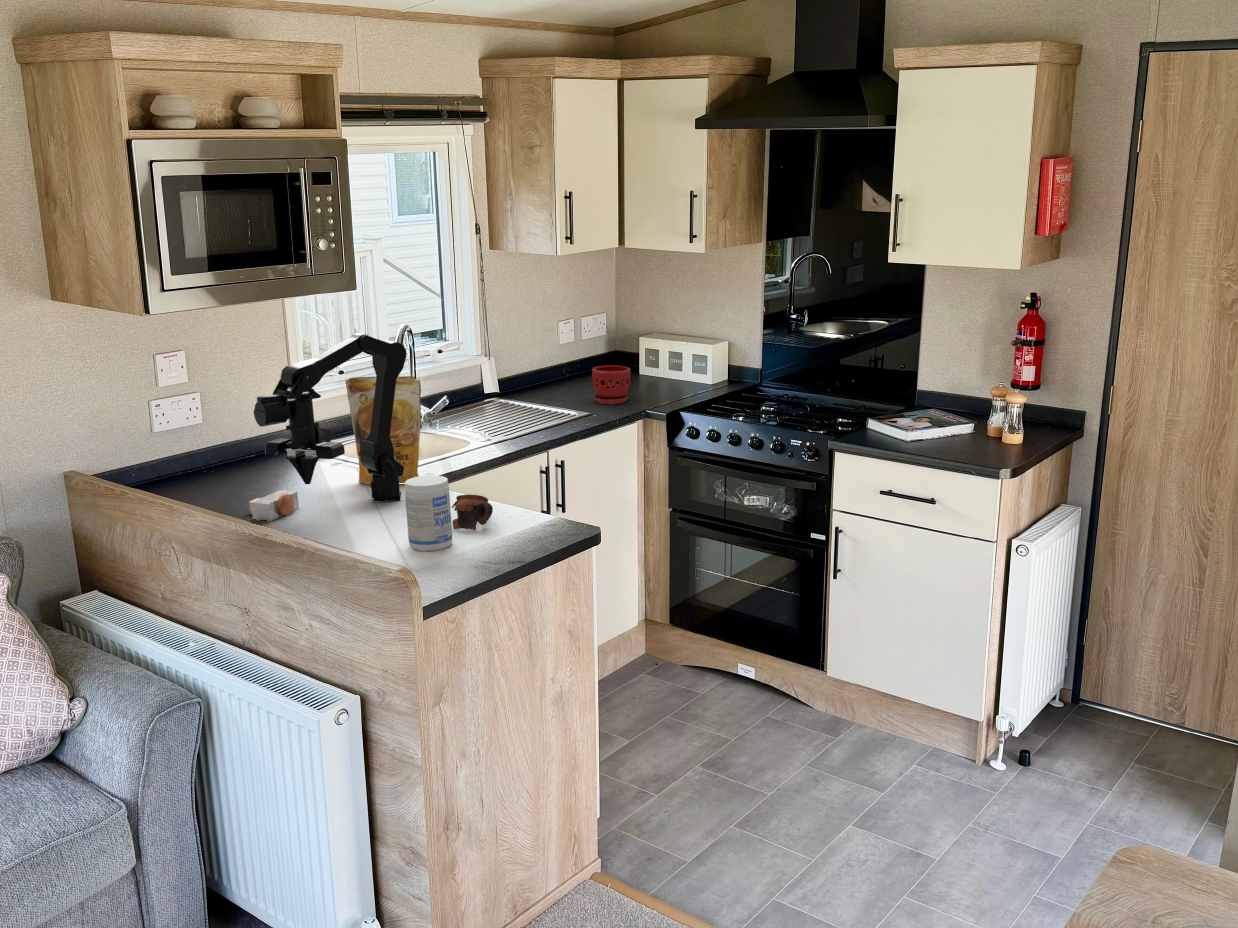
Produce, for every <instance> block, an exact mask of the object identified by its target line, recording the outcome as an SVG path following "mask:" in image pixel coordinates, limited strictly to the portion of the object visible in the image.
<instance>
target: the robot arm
mask: <svg viewBox="0 0 1238 928" xmlns="http://www.w3.org/2000/svg"><path fill="white" fill-rule="evenodd" d="M362 353H364V354H367V355H369V356H372V361H371V362H372V366H373V368H374V369H373V370H374V373H375V377H376V386H375V395H374V403H373V412H372V421H371V430H370V434H369V436H368V438H367V439H366V441H365V440H361V441H360V452H359V454H358V455H357V457H358V456H360V461H361V463H362V464H363V466H364V467H366V469H367V471H368V473H369V474H373V480H371V485H370V490H371V491H370V492H371V498H372V499H373V503H380V502H395V501H401V497H402V492H401V487H400V486H401V485H400V484H399V476H402V475H403V471H404V467H403V466H402V465H401V464H400V463H398V462H397V461H396V460H395V459H394V447H393V444H392V441H391V438H390V431H391V422H392V414H393V405H394V396H395V388H396V380H397V377H400V374H401V373H402V371H403V370H404V367H405V363H406V359H407V354H408V353H407V348H406V347H405V345H403V343H401V342H398V341H392V340H386V339H383V340H381V339H378V338H375V337H373V336H370V335H369V334H367V333H365V334H364V333H359V332H358V333H357V332H354V333H353V334H351V336H349V337H348V338H346V339H344V340H343V341H341V342H338V343H337V344H335V345H333V347H331V348H328V349H327V350H325V351H324V352H322V353H320V354H318V355H316V356H315V357H312V358H310V359H305V360H301V361H300V360H299V361H297V362H295V363H292V364H288V365H286V366H285V367H284V368H283V369H282V370H281V374H280V379H279V380H278V382H277V384H276V387H275V388H274V390H273V391H272V395H260V396H257V397H256V401H257V402H256V403H255V404H254V409H253V415H254V419H255V421H256V424H257V425H258V426H259V427H262V428H263V427H268V426H273V425H279V424H284V423H286V422H287V421H288V424H287V425H285V430H286V431H289V435H290V438H281V437H279V438H275V439H273V440H270V441H267V442H266V443H265V445H264V453H265V455H267V456H277V454H278V453H279V451H280V452H281V451H282V452H286V453H287V456H285V460H288V461H289V462H290V464H291V466H292V467H294V469H295V471H296V472H297V473H298V475H299V476H300V479H301V480H302V481H303V482H304V484H305V485H310V484H312V479H313V475H314V474H315V473H314V471H315V468H316V465H317V463H318V461H319V460H332V459H335V458H338V457H340V456H343V455H345V454H346V452H345V451H346V450H345V445H344V444H343V443H342V442H338V441H331V439H332V433H333V432H332V429H328V428H324V427H320V423H319V421H315V413H314V405H313V400H314V399H315V400H316V399H320V398H321V397H322V395H321V394H320V393H318V392H317V391H315V389H314V387H315V386H316V385H317V384H318V383H320V381H321V380H322V378H324V376H326V374H327V373H329V372H331V371H332V370H335V369H336V368H338V367H339V366H342V365H343V364H345V363H346V362H348V361H350V360H351V359H353V358H355V357H357V356H359V355H360V354H362Z"/></svg>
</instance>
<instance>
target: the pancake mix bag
mask: <svg viewBox="0 0 1238 928" xmlns="http://www.w3.org/2000/svg"><path fill="white" fill-rule="evenodd" d="M344 382H345V385H346V392H347V400H348V404H349V412H350V418H351V425H352V430H353V434H354V440H355V448H356V454H357V458H358V469H359V470H358V481H357V482H358V483H360V484H364V485H368V486H371V480H373V474H369V473H368V471H367V469H366V467H364V466H363V464H362V463H361V461H360V456H358V454H359V452H360V441H361V440H365V441H366V439H367V438H368V436H369V434H370V430H371V421H372V412H373V403H374V395H375V386H376V376H359V377H358V376H357V377H350V378H349V379H347V380H345V381H344ZM421 394H422V386H421V380H420V379H416V376H410V375H408V376H398V377H397V380H396V388H395V396H394V405H393V414H392V422H391V431H390V438H391V441H392V444H393V447H394V459H395V460H396V461H397V462H398V463H400V464H401V465H402V466H403V467H404V471H403V475H402V476H399V483H405V481H406V480H408V479H410V478H414V477H419V476H420V475H419V473H418V471H419V459H420V441H421V440H420V438H421V437H420V436H421V435H420V434H421V419H422V411H421V404H422V403H421V400H422V399H421Z"/></svg>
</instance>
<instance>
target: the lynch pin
mask: <svg viewBox="0 0 1238 928" xmlns="http://www.w3.org/2000/svg"><path fill="white" fill-rule="evenodd" d="M261 498H262V497H257V498H254V499H251V500H249V501H248V506H249V513H250V515H253V514H252V505H251V502H254V501H256V500H258V499H261ZM277 509H278V512H279V516H282V517H284V516H285V517H286V516H290V515H291V514H292V512H294V511H293V509H294V499H293V497H292V495H290V494H282V495H281V496H280V497H279V499H278V502H277Z"/></svg>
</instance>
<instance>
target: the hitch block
mask: <svg viewBox="0 0 1238 928" xmlns="http://www.w3.org/2000/svg"><path fill="white" fill-rule="evenodd" d="M282 494H290V495H292V497H293V499H294V509H293V511H292V512H294V511H296V510H299V509H300V507H299V496H298V491H294V490H283V489H282V490H277V491H275V492H273V493H270V494H267V495H265V496H263V497H260V498H261V499H258V500H256V501H254V502H251V505H252V514H251V515H252V520H253V519H256V520H255V521H260V520H267V521H266V522H270V521H271V522H273V521H275V520H277V519H279V518H280V517H279V512H278V509H277V502H278V499H279V497H280V496H281V495H282ZM278 517H279V518H278ZM276 518H277V519H276ZM274 519H275V520H274ZM272 520H273V521H272Z"/></svg>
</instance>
